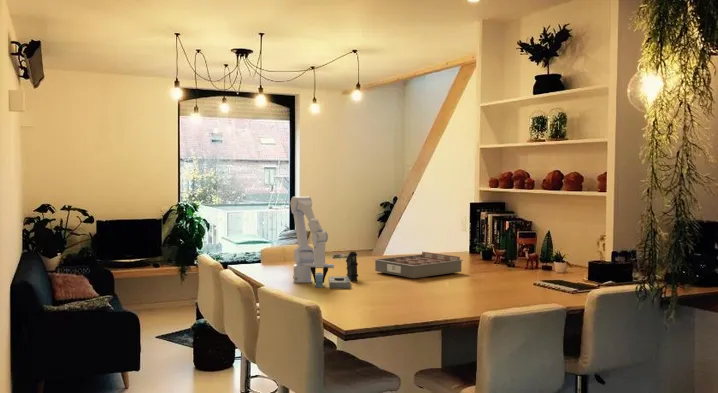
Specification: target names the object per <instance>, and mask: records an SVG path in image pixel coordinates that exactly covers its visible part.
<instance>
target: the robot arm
mask: <svg viewBox="0 0 718 393" xmlns="http://www.w3.org/2000/svg"><path fill="white" fill-rule="evenodd" d="M289 203H290V204H289V205H290V211H291V214H293V219H294V220H293V221H294V226H295V232H296V238H297V239H296V240H297V245H298V246H297V247H296V248H295V249H294V251H293V252H294V256H293V261H294V263H295V264H293V275H292V279H293V283H295V284H296V283H297V284H298V283H308V284H309V283H313V282H314V284H316V273H317V272H316V271H317V270H316V269H322V273H323V284H324V283H325V280H326V276H327V273H328V271H329V269H335V264H334V263H326V243H327V242H328V238H329V236H328V233H327V231H326V230H325V229H323V228H322V225H321V223H320V221H319V220H318V219H316V217H315V214H314V211H313V208H312V206H313V201H312V198H311V196H292V197H291V200H290V202H289ZM304 216H305V217H304ZM305 218H306V219H307V221H308V223H307V226H308V229H309V230H310V233H311V241H312V246H313V247H312V246H310V245H309V240H308V234H307V228H306V223H305ZM312 277H313V279H312Z"/></svg>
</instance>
